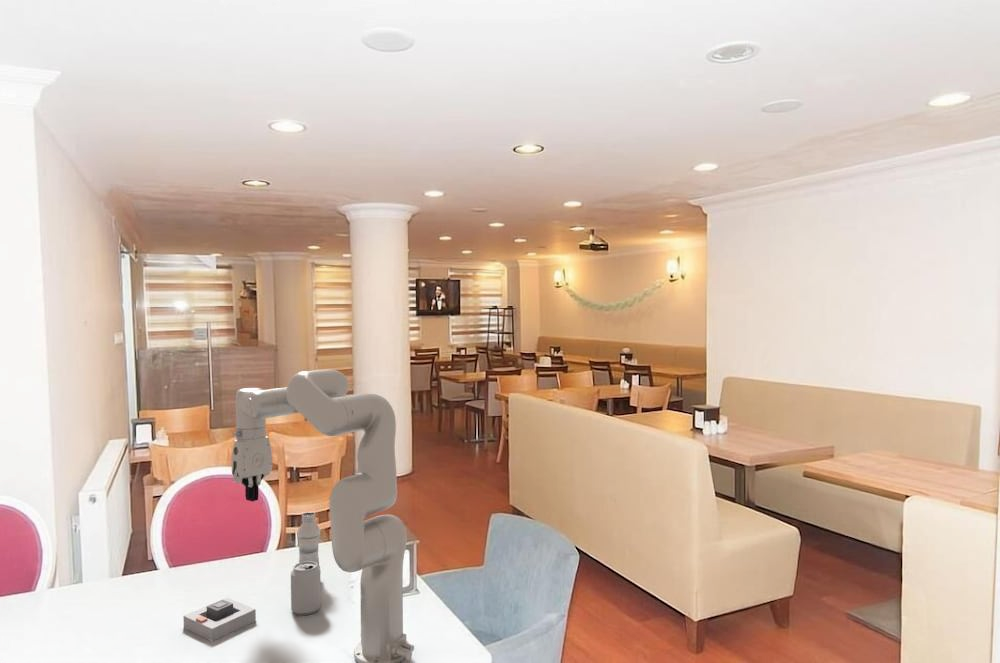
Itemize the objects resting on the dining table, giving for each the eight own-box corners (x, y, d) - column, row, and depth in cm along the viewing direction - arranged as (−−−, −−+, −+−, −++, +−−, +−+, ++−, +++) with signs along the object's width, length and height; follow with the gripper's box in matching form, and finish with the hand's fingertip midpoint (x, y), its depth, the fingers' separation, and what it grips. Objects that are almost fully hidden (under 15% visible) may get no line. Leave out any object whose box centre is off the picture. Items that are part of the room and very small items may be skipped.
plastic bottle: (292, 585, 183) (291, 516, 183) (306, 576, 190) (305, 509, 189) (312, 588, 181) (311, 518, 181) (325, 578, 188) (324, 511, 187)
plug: (233, 623, 161) (233, 603, 161) (217, 630, 158) (217, 610, 157) (222, 618, 164) (222, 599, 163) (206, 626, 160) (206, 605, 160)
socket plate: (255, 620, 162) (255, 607, 162) (212, 641, 152) (211, 626, 152) (227, 608, 169) (227, 595, 169) (183, 627, 159) (183, 613, 159)
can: (312, 617, 164) (311, 571, 163) (285, 615, 165) (285, 569, 165) (325, 604, 171) (325, 560, 171) (300, 602, 173) (299, 558, 172)
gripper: (235, 439, 166) (236, 509, 166) (282, 430, 178) (283, 495, 179) (217, 436, 170) (218, 504, 171) (265, 428, 183) (266, 491, 183)
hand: (252, 499), depth 175 cm, fingers closed
